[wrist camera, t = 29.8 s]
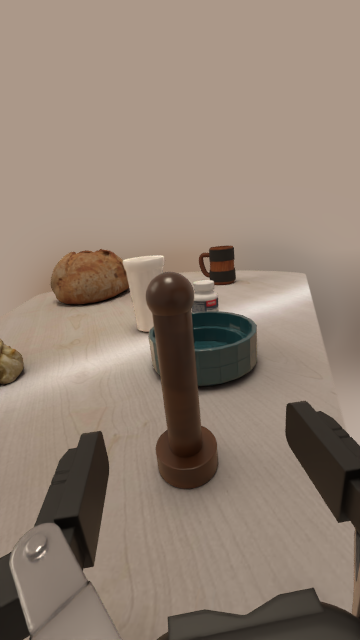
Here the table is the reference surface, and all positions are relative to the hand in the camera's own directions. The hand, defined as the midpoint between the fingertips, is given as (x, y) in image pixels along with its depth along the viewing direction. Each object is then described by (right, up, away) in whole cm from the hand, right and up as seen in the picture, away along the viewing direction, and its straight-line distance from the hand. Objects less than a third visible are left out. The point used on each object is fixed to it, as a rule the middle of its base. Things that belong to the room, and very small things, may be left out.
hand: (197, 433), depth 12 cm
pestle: (0, -8, +12) cm, 14 cm away
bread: (-29, +13, +81) cm, 87 cm away
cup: (-6, +3, +46) cm, 46 cm away
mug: (+12, +17, +82) cm, 85 cm away
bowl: (+3, -1, +29) cm, 30 cm away
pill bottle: (+5, +4, +44) cm, 45 cm away
